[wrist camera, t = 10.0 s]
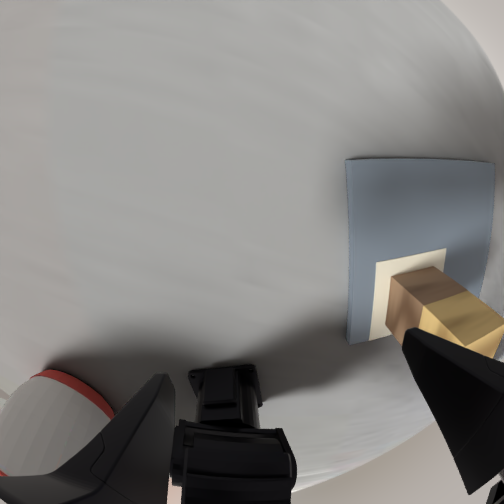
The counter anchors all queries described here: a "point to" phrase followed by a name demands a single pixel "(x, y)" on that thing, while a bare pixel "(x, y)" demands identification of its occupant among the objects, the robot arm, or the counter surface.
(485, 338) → the ochre block
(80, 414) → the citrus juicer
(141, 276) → the counter surface
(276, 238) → the counter surface
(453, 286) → the walnut block
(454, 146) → the counter surface
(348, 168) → the board
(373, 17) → the counter surface
